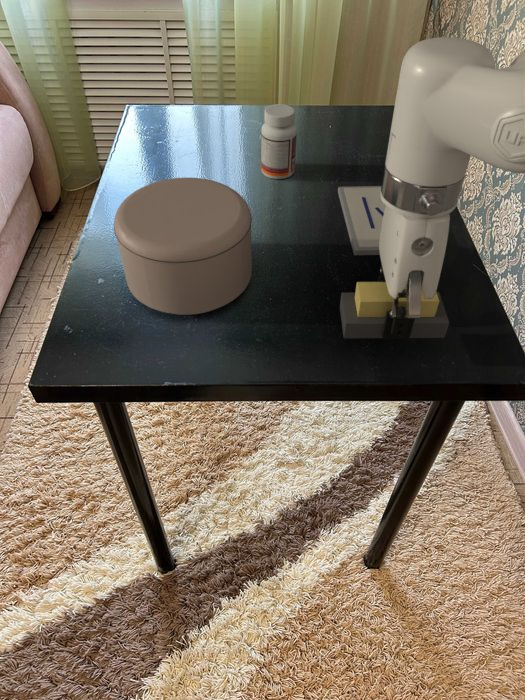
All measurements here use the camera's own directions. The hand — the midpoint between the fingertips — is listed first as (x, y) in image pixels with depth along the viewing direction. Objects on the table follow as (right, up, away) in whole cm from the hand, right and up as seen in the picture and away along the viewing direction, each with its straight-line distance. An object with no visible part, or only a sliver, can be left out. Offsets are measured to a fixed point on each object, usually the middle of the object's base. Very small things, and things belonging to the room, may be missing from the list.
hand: (391, 317), depth 65 cm
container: (-26, +6, +13) cm, 30 cm away
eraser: (0, 0, +1) cm, 1 cm away
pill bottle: (-13, +29, +33) cm, 46 cm away
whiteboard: (+4, +17, +23) cm, 29 cm away
